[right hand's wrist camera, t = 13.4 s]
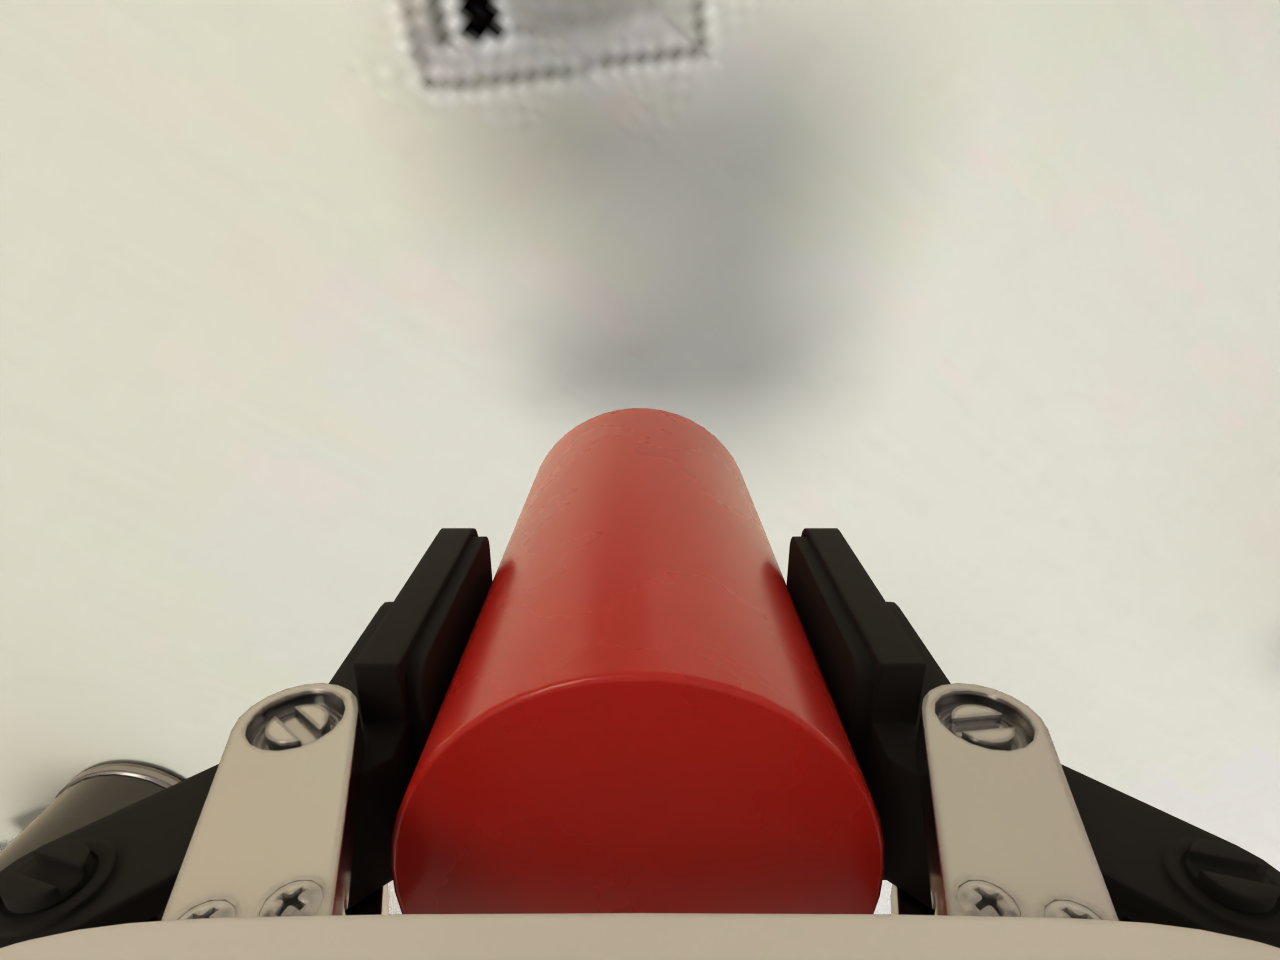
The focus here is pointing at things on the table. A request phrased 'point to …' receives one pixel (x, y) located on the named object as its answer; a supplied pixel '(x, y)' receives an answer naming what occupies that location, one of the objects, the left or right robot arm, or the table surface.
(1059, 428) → the table surface
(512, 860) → the canister
